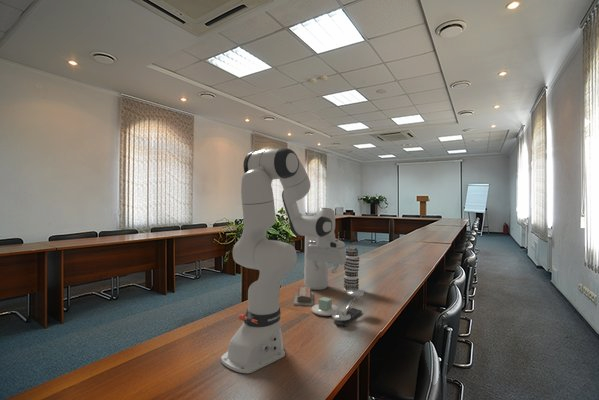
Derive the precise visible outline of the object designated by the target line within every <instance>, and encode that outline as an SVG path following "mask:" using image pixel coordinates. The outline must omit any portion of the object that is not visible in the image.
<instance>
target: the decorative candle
mask: <svg viewBox="0 0 599 400" xmlns="http://www.w3.org/2000/svg"><path fill="white" fill-rule="evenodd" d="M345 250H346V263H345V264H343V270H344V277H343V282H344V283H343V288H344V289H343V290H344V292H346V291H347V290H349V289H359V290H360V288H359V287H360V285H359V282H360V281H359V280H360V279H359V271H360V269H359V268H360V266H359V265H360V263H359V262H360V257H359V250H358V248H357V247H354V246H348V247H346V248H345Z"/></svg>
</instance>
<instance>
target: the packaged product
mask: <svg viewBox="0 0 599 400" xmlns="http://www.w3.org/2000/svg"><path fill="white" fill-rule="evenodd" d="M293 306H301V307H303V306H304V307H305V306H306V307H307V306H310V307H311V306H312V307H313V306H314V292H312V290H311V288H309V287H305V286H299V287H298V291H295V293H294V300H293Z"/></svg>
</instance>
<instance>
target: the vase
mask: <svg viewBox="0 0 599 400" xmlns="http://www.w3.org/2000/svg"><path fill="white" fill-rule="evenodd" d="M309 241H316V237H310V236H304V266H303V267H304V270H303V271H304V274H303V275H304V278H303V279H304V287H309V288H311V291H320V290H321V291H322V290H325V289H327V287H328V286H329V285H328V284H329V263H327V262H320V261H317V262H316V263H317V265H318V266H319V270H315V266H314V264H313V260H308V259H307V258H306V253H307V243H308V242H309ZM309 243H310V242H309Z"/></svg>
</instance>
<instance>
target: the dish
mask: <svg viewBox="0 0 599 400" xmlns="http://www.w3.org/2000/svg"><path fill="white" fill-rule="evenodd" d="M311 312H312V313H314V314H315V315H318V316H322V317H330V316H331V317H332V314H333V313H334V312H340V308H339V306H337V305H335V304H332V308H331V309H330V310H328V311H324V310H320V309H319V303H318V304H317V303H316V304H313V306H312V307H311Z"/></svg>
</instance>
